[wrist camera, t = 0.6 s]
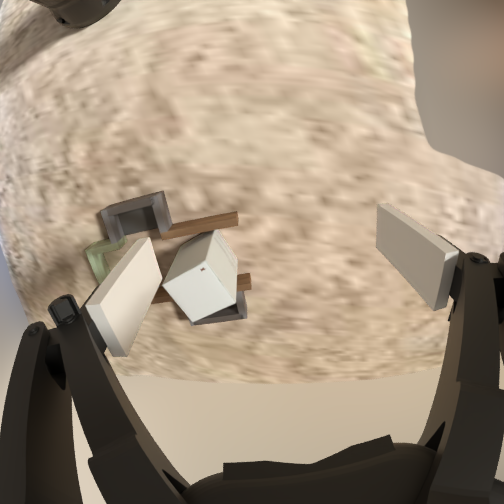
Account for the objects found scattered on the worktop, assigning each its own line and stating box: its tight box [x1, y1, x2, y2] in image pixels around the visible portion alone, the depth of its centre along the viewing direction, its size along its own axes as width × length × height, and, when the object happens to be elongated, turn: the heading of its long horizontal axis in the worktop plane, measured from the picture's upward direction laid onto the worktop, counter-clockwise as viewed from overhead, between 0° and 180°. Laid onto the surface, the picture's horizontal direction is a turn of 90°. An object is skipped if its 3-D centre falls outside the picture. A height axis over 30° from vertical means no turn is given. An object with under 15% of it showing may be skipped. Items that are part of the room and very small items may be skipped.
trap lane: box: [85, 191, 251, 326], centre depth 45 cm, size 24×27×4 cm
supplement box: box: [162, 229, 238, 322], centre depth 41 cm, size 7×7×13 cm
